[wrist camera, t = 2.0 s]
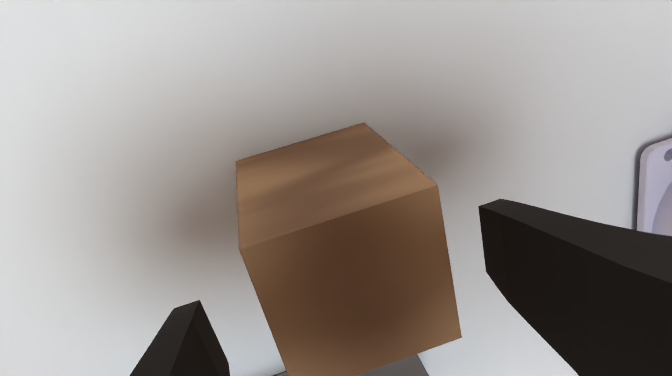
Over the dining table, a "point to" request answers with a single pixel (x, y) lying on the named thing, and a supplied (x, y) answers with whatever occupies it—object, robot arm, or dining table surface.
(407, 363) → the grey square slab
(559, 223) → the robot arm
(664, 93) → the dining table surface
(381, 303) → the walnut block
